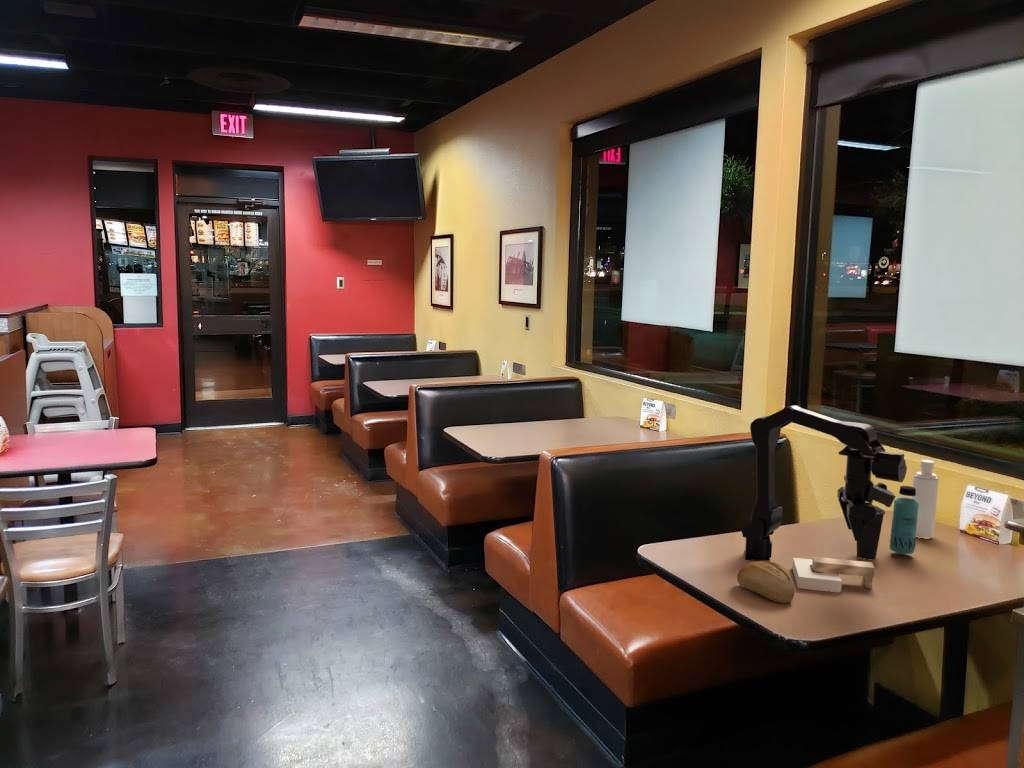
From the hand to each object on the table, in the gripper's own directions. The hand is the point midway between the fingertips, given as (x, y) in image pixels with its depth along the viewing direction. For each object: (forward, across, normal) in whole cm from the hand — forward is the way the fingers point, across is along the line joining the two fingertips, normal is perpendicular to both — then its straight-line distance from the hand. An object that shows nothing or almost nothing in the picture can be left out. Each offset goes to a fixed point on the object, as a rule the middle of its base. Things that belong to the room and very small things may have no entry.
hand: (853, 534), depth 192 cm
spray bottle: (+13, +48, -28) cm, 57 cm away
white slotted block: (+13, 0, +8) cm, 15 cm away
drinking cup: (+13, +23, -8) cm, 28 cm away
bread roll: (+13, -13, +22) cm, 28 cm away
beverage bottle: (+13, +27, -18) cm, 35 cm away
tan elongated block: (+13, 0, +2) cm, 13 cm away
